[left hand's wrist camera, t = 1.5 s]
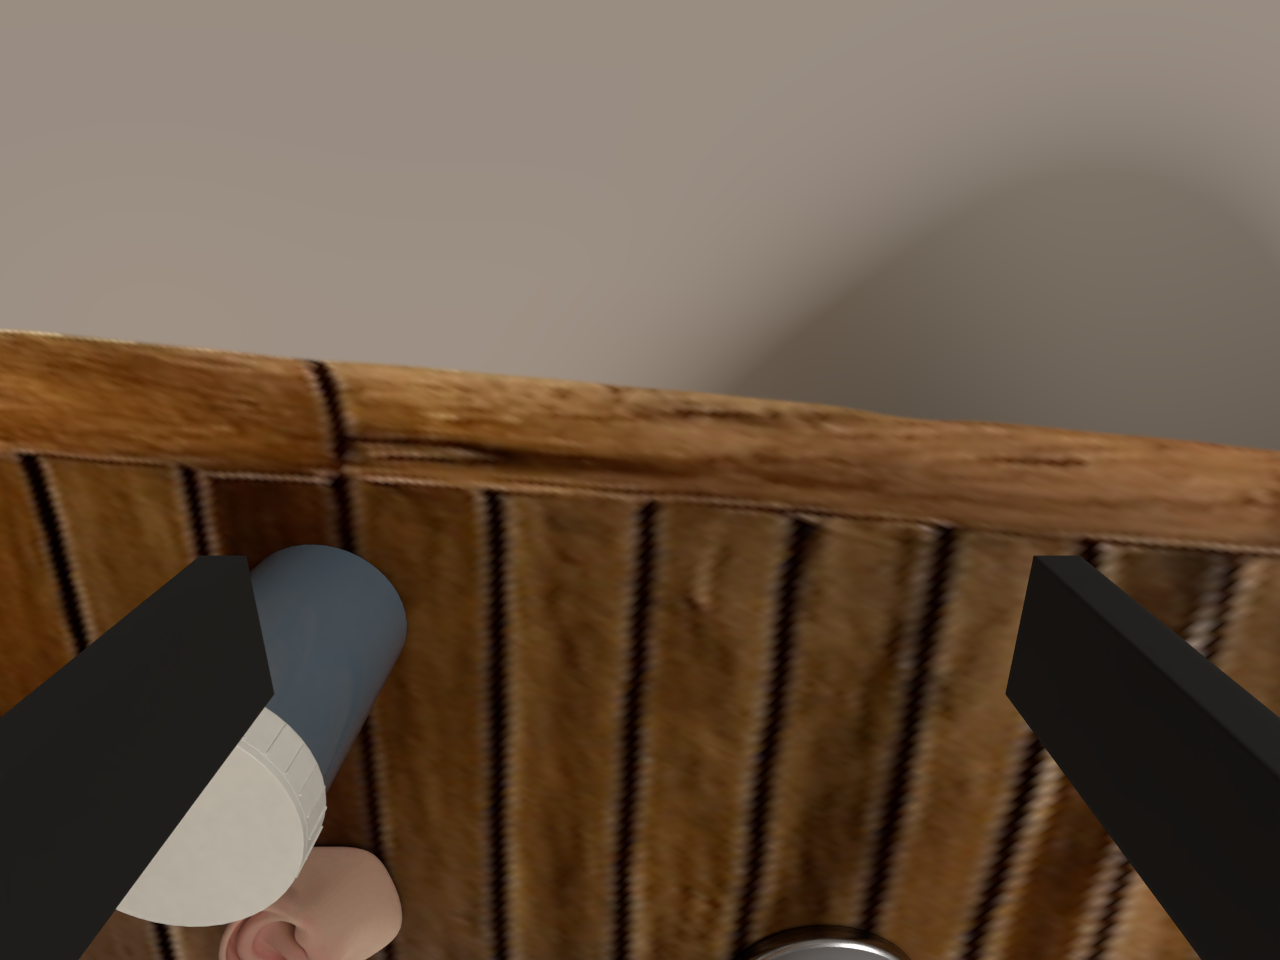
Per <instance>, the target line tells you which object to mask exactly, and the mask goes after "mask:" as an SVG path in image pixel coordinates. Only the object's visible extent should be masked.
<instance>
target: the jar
mask: <svg viewBox="0 0 1280 960" xmlns="http://www.w3.org/2000/svg"><path fill="white" fill-rule="evenodd" d="M250 576H251V581H252V586H253V591H254V596H255V601H256V606H257V611H258V616H259V621H260V625H261V630H262V635H263V640H264V645H265V650H266V655H267V660H268V665H269V670H270V674H271V679H272V684H273V689H274V695H273V697H272V698H271V700H270V701H269V702H268V704H267V705H266V706H265V707H266V708H267V709H269V710H270V711H272V712H273V713H275V714H276V715H277V716H279V717H280V718H281V719H282V720H283V721H284V722H286V723H287V724H288V725H289V726H290V727H291V728H292V729H293V730H294V731H295V732H296V733H297V734H298V735H299V736H300V737H301V739H302V740H303V741H304V743H305V744H306V745H307V747H308V748H309V749H310V751H311V753H312V754H313V756H314V758H315V760H316V762H317V764H318V766H319V769H320V771H321V774H322V777H323V781H324V786H325V787H326V788H325V792H326V794H327V793H328V791H329V789H330V787H331V785H332V783H333V781H334V779H335V777H336V775H337V774H338V772H339V770H340V768H341V766H342V764H343V762H344V760H345V758H346V756H347V755H348V753H349V751H350V749H351V747H352V745H353V743H354V741H355V739H356V737H357V736H358V734H359V732H360V730H361V728H362V726H363V724H364V722H365V720H366V719H367V717H368V715H369V713H370V711H371V709H372V707H373V705H374V703H375V701H376V700H377V698H378V696H379V694H380V692H381V690H382V688H383V686H384V684H385V682H386V681H387V679H388V677H389V675H390V673H391V671H392V669H393V667H394V665H395V663H396V662H397V660H398V658H399V656H400V654H401V652H402V650H403V647H404V644H405V641H406V634H407V621H406V614H405V610H404V607H403V604H402V601H401V599H400V597H399V595H398V593H397V591H396V590H395V588H394V587H393V585H392V584H391V583H390V581H389V580H388V579H387V578H386V577H385V576H384V575H383V574H382V573H381V572H380V571H379V570H378V569H377V568H376V567H374V566H373V565H372V564H370V563H369V562H367V561H366V560H364V559H362V558H361V557H359V556H357V555H355V554H352V553H350V552H348V551H345V550H342V549H339V548H335V547H330V546H325V545H299V546H292V547H289V548H285V549H282V550H279V551H277V552H275V553H273V554H271V555H269V556H268V557H266V558H264V559H263V560H262V561H261V562H260V563H258V564H257V565H256V566H255V567H254V568H253V569H252V570H251V571H250Z"/></svg>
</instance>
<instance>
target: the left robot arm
mask: <svg viewBox="0 0 1280 960" xmlns="http://www.w3.org/2000/svg"><path fill="white" fill-rule="evenodd" d="M273 695H274V689H273V684H272V679H271V674H270V670H269V665H268V660H267V655H266V650H265V645H264V640H263V635H262V630H261V625H260V621H259V616H258V611H257V606H256V601H255V596H254V591H253V586H252V581H251V576H250V572H249V567H248V562H247V557H246V556H199V557H198V558H197V559H196V560H194V561H193V562H192V563H191V564H189V565H188V566H187V567H186V568H185V569H183V570H182V571H181V572H180V573H178V574H177V575H176V576H175V577H173V578H172V579H171V580H170V581H169V582H167V583H166V584H165V585H164V586H162V587H161V588H160V589H159V590H157V591H156V592H155V593H154V594H152V595H151V596H150V597H149V598H148V599H146V600H145V601H144V602H143V603H141V604H140V605H139V606H138V607H136V608H135V609H134V610H133V611H132V612H130V613H129V614H128V615H127V616H125V617H124V618H123V619H122V620H120V621H119V622H118V623H117V624H116V625H114V626H113V627H112V628H111V629H109V630H108V631H107V632H106V633H104V634H103V635H102V636H101V637H99V638H98V639H97V640H96V641H95V642H93V643H92V644H91V645H90V646H88V647H87V648H86V649H85V650H83V651H82V652H81V653H80V654H79V655H77V656H76V657H75V658H74V659H72V660H71V661H70V662H69V663H67V664H66V665H65V666H64V667H62V668H61V669H60V670H59V671H58V672H56V673H55V674H54V675H53V676H51V677H50V678H49V679H48V680H46V681H45V682H44V683H43V684H42V685H40V686H39V687H38V688H37V689H35V690H34V691H33V692H32V693H30V694H29V695H28V696H27V697H25V698H24V699H23V700H22V701H21V702H19V703H18V704H17V705H16V706H14V707H13V708H12V709H11V710H9V711H8V712H7V713H6V714H5V715H3V716H2V717H1V718H0V960H79V958H80V957H81V955H82V954H83V953H84V951H85V950H86V949H87V947H88V946H89V945H90V943H91V942H92V941H93V939H94V938H95V936H96V935H97V934H98V932H99V931H100V930H101V928H102V927H103V926H104V924H105V923H106V922H107V920H108V919H109V918H110V916H111V915H112V913H113V912H114V911H115V909H116V908H117V907H118V905H119V904H120V903H121V901H122V900H123V899H124V897H125V896H126V895H127V893H128V892H129V890H130V889H131V888H132V886H133V885H134V884H135V882H136V881H137V880H138V878H139V877H140V876H141V874H142V873H143V871H144V870H145V869H146V867H147V866H148V865H149V863H150V862H151V861H152V859H153V858H154V857H155V855H156V854H157V853H158V851H159V850H160V848H161V847H162V846H163V844H164V843H165V842H166V840H167V839H168V838H169V836H170V835H171V834H172V832H173V831H174V830H175V828H176V827H177V825H178V824H179V823H180V821H181V820H182V819H183V817H184V816H185V815H186V813H187V812H188V811H189V809H190V808H191V807H192V805H193V804H194V802H195V801H196V800H197V798H198V797H199V796H200V794H201V793H202V792H203V790H204V789H205V788H206V786H207V785H208V783H209V782H210V781H211V779H212V778H213V777H214V775H215V774H216V773H217V771H218V770H219V769H220V767H221V766H222V765H223V763H224V762H225V760H226V759H227V758H228V756H229V755H230V754H231V752H232V751H233V750H234V748H235V747H236V746H237V744H238V743H239V742H240V740H241V739H242V737H243V736H244V735H245V733H246V732H247V731H248V729H249V728H250V727H251V725H252V724H253V723H254V721H255V720H256V718H257V717H258V716H259V714H260V713H261V712H262V710H263V709H264V708H265V706H266V705H267V704H268V702H269V701H270V700H271V698H272V697H273ZM1006 695H1007V697H1008V698H1009V700H1010V701H1011V702H1012V704H1013V705H1014V706H1015V708H1016V709H1017V710H1018V712H1019V713H1020V714H1021V716H1022V717H1023V718H1024V720H1025V721H1026V723H1027V724H1028V725H1029V727H1030V728H1031V729H1032V731H1033V732H1034V733H1035V735H1036V736H1037V737H1038V739H1039V740H1040V742H1041V743H1042V744H1043V746H1044V747H1045V748H1046V750H1047V751H1048V752H1049V754H1050V755H1051V756H1052V758H1053V759H1054V760H1055V762H1056V763H1057V765H1058V766H1059V767H1060V769H1061V770H1062V771H1063V773H1064V774H1065V775H1066V777H1067V778H1068V779H1069V781H1070V782H1071V783H1072V785H1073V786H1074V788H1075V789H1076V790H1077V792H1078V793H1079V794H1080V796H1081V797H1082V798H1083V800H1084V801H1085V802H1086V804H1087V805H1088V807H1089V808H1090V809H1091V811H1092V812H1093V813H1094V815H1095V816H1096V817H1097V819H1098V820H1099V821H1100V823H1101V824H1102V825H1103V827H1104V828H1105V830H1106V831H1107V832H1108V834H1109V835H1110V836H1111V838H1112V839H1113V840H1114V842H1115V843H1116V844H1117V846H1118V847H1119V848H1120V850H1121V851H1122V853H1123V854H1124V855H1125V857H1126V858H1127V859H1128V861H1129V862H1130V863H1131V865H1132V866H1133V867H1134V869H1135V870H1136V871H1137V873H1138V874H1139V876H1140V877H1141V878H1142V880H1143V881H1144V882H1145V884H1146V885H1147V886H1148V888H1149V889H1150V890H1151V892H1152V893H1153V895H1154V896H1155V897H1156V899H1157V900H1158V901H1159V903H1160V904H1161V905H1162V907H1163V908H1164V909H1165V911H1166V912H1167V913H1168V915H1169V916H1170V918H1171V919H1172V920H1173V922H1174V923H1175V924H1176V926H1177V927H1178V928H1179V930H1180V931H1181V932H1182V934H1183V935H1184V936H1185V938H1186V939H1187V941H1188V942H1189V943H1190V945H1191V946H1192V947H1193V949H1194V950H1195V951H1196V953H1197V954H1198V955H1199V957H1200V958H1201V960H1280V718H1279V717H1278V716H1277V715H1275V714H1274V713H1273V712H1272V711H1271V710H1269V709H1268V708H1267V707H1266V706H1264V705H1263V704H1262V703H1261V702H1259V701H1258V700H1257V699H1256V698H1255V697H1253V696H1252V695H1251V694H1250V693H1248V692H1247V691H1246V690H1245V689H1243V688H1242V687H1241V686H1240V685H1238V684H1237V683H1236V682H1235V681H1234V680H1232V679H1231V678H1230V677H1229V676H1227V675H1226V674H1225V673H1224V672H1222V671H1221V670H1220V669H1219V668H1218V667H1216V666H1215V665H1214V664H1213V663H1211V662H1210V661H1209V660H1208V659H1206V658H1205V657H1204V656H1203V655H1201V654H1200V653H1199V652H1198V651H1197V650H1195V649H1194V648H1193V647H1192V646H1190V645H1189V644H1188V643H1187V642H1185V641H1184V640H1183V639H1182V638H1181V637H1179V636H1178V635H1177V634H1176V633H1174V632H1173V631H1172V630H1171V629H1169V628H1168V627H1167V626H1166V625H1164V624H1163V623H1162V622H1161V621H1160V620H1158V619H1157V618H1156V617H1155V616H1153V615H1152V614H1151V613H1150V612H1148V611H1147V610H1146V609H1145V608H1144V607H1142V606H1141V605H1140V604H1139V603H1137V602H1136V601H1135V600H1134V599H1132V598H1131V597H1130V596H1129V595H1128V594H1126V593H1125V592H1124V591H1123V590H1121V589H1120V588H1119V587H1118V586H1116V585H1115V584H1114V583H1113V582H1111V581H1110V580H1109V579H1108V578H1107V577H1105V576H1104V575H1103V574H1102V573H1100V572H1099V571H1098V570H1097V569H1095V568H1094V567H1093V566H1092V565H1091V564H1089V563H1088V562H1087V561H1086V560H1084V559H1083V558H1082V557H1081V556H1034V557H1033V562H1032V567H1031V572H1030V576H1029V581H1028V586H1027V591H1026V596H1025V601H1024V606H1023V611H1022V616H1021V621H1020V625H1019V630H1018V635H1017V640H1016V645H1015V650H1014V655H1013V660H1012V665H1011V670H1010V674H1009V679H1008V684H1007V689H1006ZM737 960H910V958H909V957H908V956H907V955H906V954H905V953H904V952H903V951H902V950H901V949H900V948H898V947H897V946H896V945H894V944H893V943H891V942H889V941H888V940H886V939H884V938H882V937H880V936H878V935H875V934H872V933H870V932H866V931H863V930H859V929H854V928H849V927H840V926H815V927H806V928H800V929H795V930H791V931H787V932H784V933H781V934H778V935H775V936H773V937H770V938H768V939H766V940H764V941H762V942H760V943H758V944H756V945H755V946H753V947H752V948H750V949H749V950H747V951H746V952H745V953H743V954H742V955H741V956H740V957H739V958H738V959H737Z"/></svg>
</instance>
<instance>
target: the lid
mask: <svg viewBox="0 0 1280 960" xmlns="http://www.w3.org/2000/svg"><path fill="white" fill-rule="evenodd" d="M325 788H326V787H325V786H324V781H323V777H322V774H321V771H320V769H319V766H318V764H317V762H316V760H315V758H314V756H313V754H312V753H311V751H310V749H309V748H308V747H307V745H306V744H305V743H304V741H303V740H302V739H301V737H300V736H299V735H298V734H297V733H296V732H295V731H294V730H293V729H292V728H291V727H290V726H289V725H288V724H287V723H286V722H284V721H283V720H282V719H281V718H280V717H279V716H277V715H276V714H275V713H273V712H272V711H270V710H269V709H267V708H266V707H265V708H264V709H263V710H262V712H261V713H260V714H259V716H258V717H257V718H256V720H255V721H254V723H253V724H252V725H251V727H250V728H249V729H248V731H247V732H246V733H245V735H244V736H243V737H242V739H241V740H240V742H239V743H238V744H237V746H236V747H235V748H234V750H233V751H232V752H231V754H230V755H229V756H228V758H227V759H226V760H225V762H224V763H223V765H222V766H221V767H220V769H219V770H218V771H217V773H216V774H215V775H214V777H213V778H212V779H211V781H210V782H209V783H208V785H207V786H206V788H205V789H204V790H203V792H202V793H201V794H200V796H199V797H198V798H197V800H196V801H195V802H194V804H193V805H192V807H191V808H190V809H189V811H188V812H187V813H186V815H185V816H184V817H183V819H182V820H181V821H180V823H179V824H178V825H177V827H176V828H175V830H174V831H173V832H172V834H171V835H170V836H169V838H168V839H167V840H166V842H165V843H164V844H163V846H162V847H161V848H160V850H159V851H158V853H157V854H156V855H155V857H154V858H153V859H152V861H151V862H150V863H149V865H148V866H147V867H146V869H145V870H144V871H143V873H142V874H141V876H140V877H139V878H138V880H137V881H136V882H135V884H134V885H133V886H132V888H131V889H130V890H129V892H128V893H127V895H126V896H125V897H124V899H123V900H122V901H121V903H120V904H119V905H118V907H117V908H116V910H118V911H121V912H123V913H126V914H129V915H131V916H134V917H137V918H140V919H144V920H148V921H152V922H156V923H162V924H168V925H175V926H189V927H195V926H213V925H221V924H226V923H231V922H235V921H239V920H241V919H244V918H247V917H250V916H252V915H254V914H256V913H258V912H260V911H262V910H264V909H266V908H267V907H268V906H270V905H271V904H273V903H274V902H276V901H277V900H278V899H279V898H280V897H281V896H282V895H283V894H284V893H285V892H286V891H287V890H288V888H289V887H290V886H291V884H292V883H293V882H294V880H295V878H297V877H298V875H299V873H300V871H301V869H302V867H303V865H304V863H305V861H306V860H307V858H308V856H309V854H310V852H311V850H312V848H313V846H314V844H315V842H316V840H317V838H318V836H319V834H320V832H321V830H322V828H323V826H322V823H323V819H324V816H325V811H326V809H327V807H326V792H325Z"/></svg>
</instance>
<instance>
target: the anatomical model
mask: <svg viewBox="0 0 1280 960" xmlns="http://www.w3.org/2000/svg"><path fill="white" fill-rule="evenodd" d="M401 923H402V910H401V904H400V900H399V896H398V893H397V891H396V888H395V886H394V883H393V881H392V879H391V877H390V875H389V873H388V872H387V870H386V868H385V867H384V865H383V864H382V862H381V861H380V860H379V859H378V858H377V857H376V856H375V855H373V854H372V853H370V852H368V851H366V850H363V849H359V848H353V847H313V848H312V850H311V852H310V854H309V856H308V858H307V860H306V861H305V863H304V865H303V867H302V869H301V871H300V873H299V875H298V877H297V878H295V880H294V882H293V883H292V884H291V886H290V887H289V888H288V890H287V891H286V892H285V893H284V894H283V895H282V896H281V897H280V898H279V899H278V900H277V901H276V902H274V903H273V904H271V905H270V906H268V907H267V908H266V909H264V910H262V911H260V912H258V913H256V914H254V915H252V916H250V917H247V918H244V919H241V920H239V921H235V922H231V923H228V925H227V927H226V929H225V931H224V933H223V935H222V938H221V942H220V946H219V960H365V959H367V958H369V957H370V956H372V955H373V954H375V953H376V952H378V951H379V950H381V949H382V948H383V947H385V946H386V945H387V944H389V943H390V942H391V941H392V940H393V939H394V938H395V936H396V935H397V933H398V932H399V930H400V927H401Z"/></svg>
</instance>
